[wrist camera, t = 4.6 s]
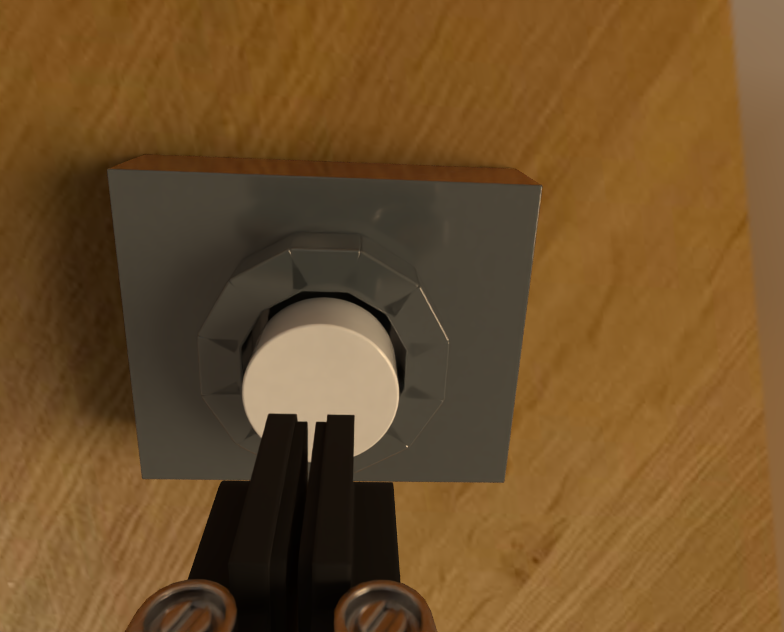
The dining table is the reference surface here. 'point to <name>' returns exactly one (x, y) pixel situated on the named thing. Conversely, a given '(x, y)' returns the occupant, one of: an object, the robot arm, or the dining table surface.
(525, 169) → the dining table surface
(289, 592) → the robot arm
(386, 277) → the push button box
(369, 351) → the white push button
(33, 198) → the dining table surface
